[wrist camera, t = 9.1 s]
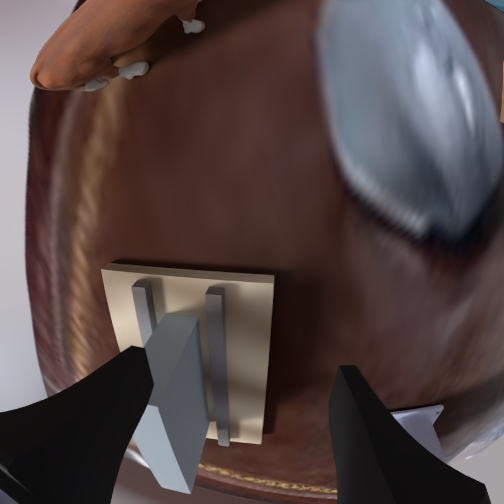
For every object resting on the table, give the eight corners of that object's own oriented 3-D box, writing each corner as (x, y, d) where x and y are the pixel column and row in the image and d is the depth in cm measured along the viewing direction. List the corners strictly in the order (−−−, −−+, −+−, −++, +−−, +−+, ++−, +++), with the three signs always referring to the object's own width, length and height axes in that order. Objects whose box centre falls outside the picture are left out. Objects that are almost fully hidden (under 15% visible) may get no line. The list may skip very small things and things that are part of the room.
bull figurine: (281, 9, 13) (279, -71, 5) (101, 112, 16) (12, 106, 8) (249, -32, 11) (230, -108, 4) (82, 67, 15) (0, 50, 7)
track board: (261, 434, 25) (260, 451, 23) (149, 417, 26) (143, 431, 24) (274, 275, 19) (273, 291, 16) (109, 262, 20) (93, 275, 17)
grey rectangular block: (210, 422, 23) (191, 493, 16) (185, 417, 23) (161, 487, 16) (198, 317, 19) (157, 406, 11) (165, 313, 19) (113, 395, 12)
